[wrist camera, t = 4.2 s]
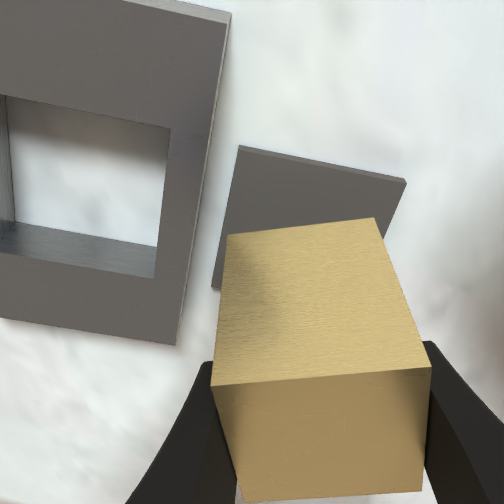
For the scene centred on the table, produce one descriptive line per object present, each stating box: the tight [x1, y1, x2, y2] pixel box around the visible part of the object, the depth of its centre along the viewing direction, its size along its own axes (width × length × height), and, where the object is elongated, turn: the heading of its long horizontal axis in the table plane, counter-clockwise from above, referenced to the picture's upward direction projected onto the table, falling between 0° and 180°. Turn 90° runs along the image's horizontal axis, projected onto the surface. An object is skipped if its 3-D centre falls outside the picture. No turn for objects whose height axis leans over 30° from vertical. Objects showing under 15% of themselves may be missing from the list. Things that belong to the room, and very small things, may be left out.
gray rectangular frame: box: [0, 0, 231, 345], centre depth 16 cm, size 8×12×2 cm, turn 168°
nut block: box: [211, 217, 432, 503], centre depth 14 cm, size 4×4×6 cm
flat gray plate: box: [211, 145, 407, 288], centre depth 18 cm, size 6×6×1 cm
